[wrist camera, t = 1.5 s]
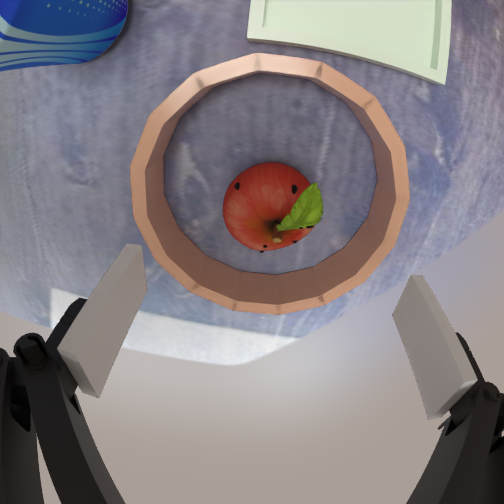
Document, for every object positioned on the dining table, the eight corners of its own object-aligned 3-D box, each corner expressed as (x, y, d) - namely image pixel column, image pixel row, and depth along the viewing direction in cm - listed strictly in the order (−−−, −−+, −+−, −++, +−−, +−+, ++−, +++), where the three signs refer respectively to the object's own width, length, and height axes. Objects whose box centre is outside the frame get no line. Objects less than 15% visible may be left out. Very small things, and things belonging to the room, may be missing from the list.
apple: (297, 230, 28) (309, 303, 19) (224, 215, 27) (204, 284, 19) (320, 151, 23) (351, 195, 15) (239, 133, 23) (222, 166, 15)
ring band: (157, 271, 31) (144, 298, 27) (153, 57, 19) (130, 53, 16) (354, 291, 31) (364, 320, 27) (408, 89, 20) (434, 93, 16)
